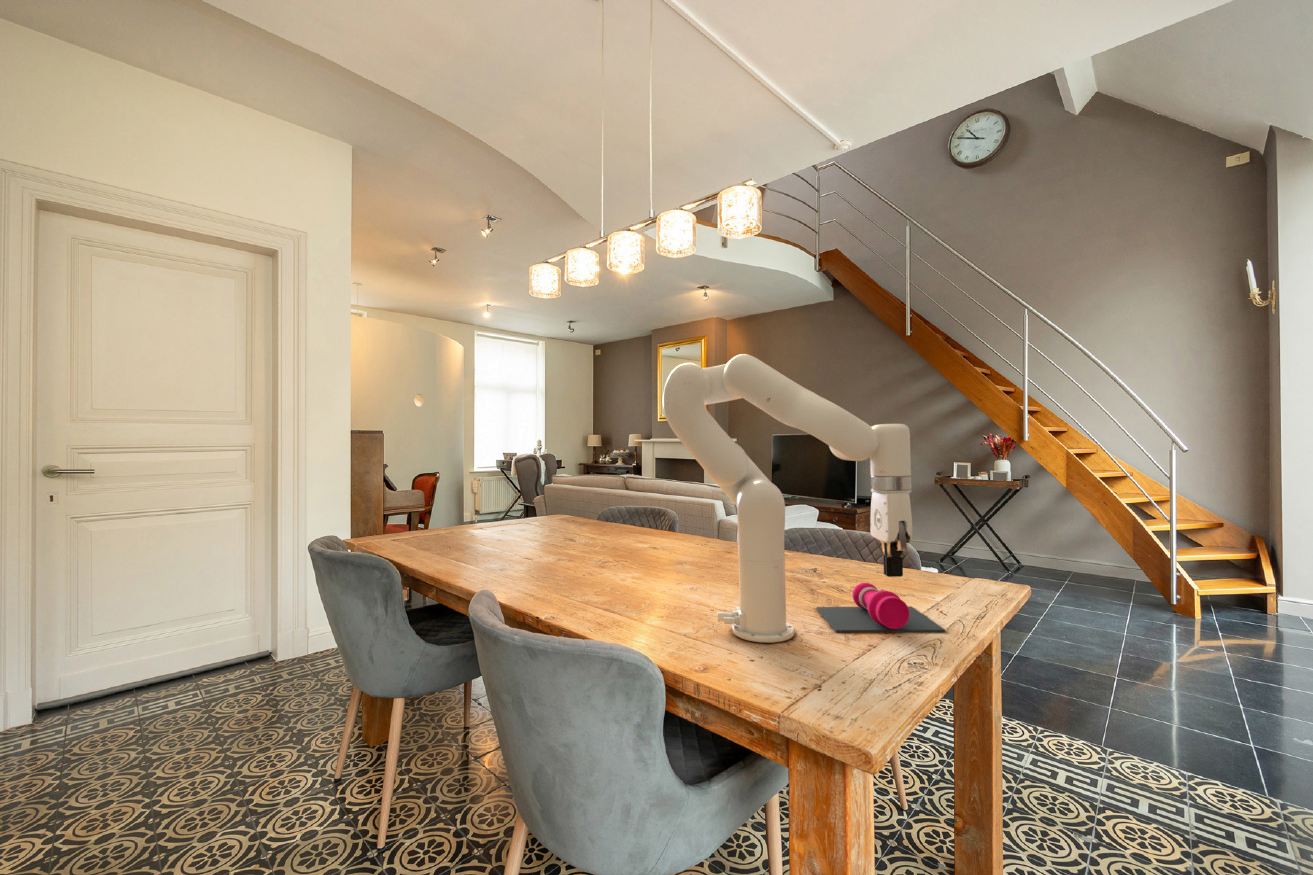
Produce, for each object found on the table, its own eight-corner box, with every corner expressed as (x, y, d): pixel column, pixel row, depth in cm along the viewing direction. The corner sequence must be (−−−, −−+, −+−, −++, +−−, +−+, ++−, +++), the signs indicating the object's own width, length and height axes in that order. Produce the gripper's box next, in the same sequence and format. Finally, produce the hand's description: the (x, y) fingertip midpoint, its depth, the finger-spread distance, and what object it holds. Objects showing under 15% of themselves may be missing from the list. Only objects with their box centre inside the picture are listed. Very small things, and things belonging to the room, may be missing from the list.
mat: (836, 632, 110) (836, 630, 110) (816, 608, 126) (816, 606, 126) (945, 632, 109) (945, 629, 109) (911, 608, 125) (911, 606, 125)
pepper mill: (871, 601, 109) (840, 581, 129) (882, 635, 108) (850, 610, 128) (905, 590, 109) (869, 572, 129) (917, 625, 108) (879, 602, 128)
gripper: (859, 482, 116) (861, 567, 116) (887, 487, 101) (889, 585, 101) (893, 482, 116) (896, 567, 116) (927, 487, 101) (930, 585, 101)
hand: (893, 575), depth 108 cm, fingers closed
